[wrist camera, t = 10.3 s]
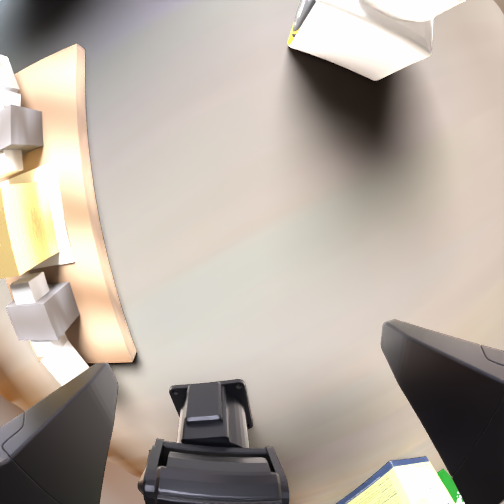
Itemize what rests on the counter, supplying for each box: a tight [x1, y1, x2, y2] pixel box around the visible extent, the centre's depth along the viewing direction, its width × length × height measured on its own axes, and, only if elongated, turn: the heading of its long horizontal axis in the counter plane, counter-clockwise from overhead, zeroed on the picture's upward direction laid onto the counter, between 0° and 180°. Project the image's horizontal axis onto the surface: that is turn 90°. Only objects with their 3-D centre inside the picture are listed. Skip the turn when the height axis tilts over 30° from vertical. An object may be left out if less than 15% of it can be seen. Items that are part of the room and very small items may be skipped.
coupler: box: [0, 180, 60, 279], centre depth 14 cm, size 4×5×5 cm
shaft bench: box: [0, 44, 137, 386], centre depth 15 cm, size 26×10×5 cm, turn 7°
